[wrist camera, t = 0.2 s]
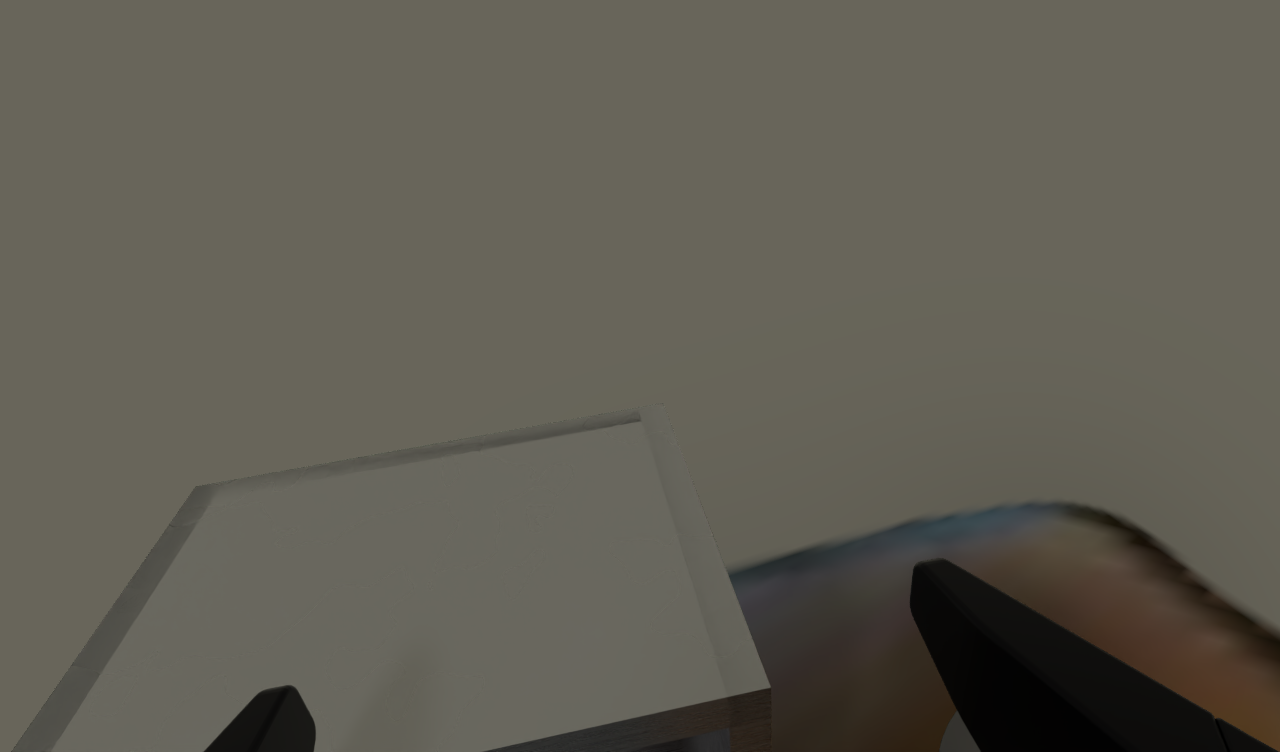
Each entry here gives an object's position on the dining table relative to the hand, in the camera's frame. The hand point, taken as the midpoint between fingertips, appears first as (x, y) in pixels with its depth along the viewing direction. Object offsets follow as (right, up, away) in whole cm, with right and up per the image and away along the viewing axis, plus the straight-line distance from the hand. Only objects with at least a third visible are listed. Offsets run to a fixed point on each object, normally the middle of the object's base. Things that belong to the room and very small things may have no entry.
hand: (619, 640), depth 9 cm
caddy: (-3, -13, +11) cm, 17 cm away
